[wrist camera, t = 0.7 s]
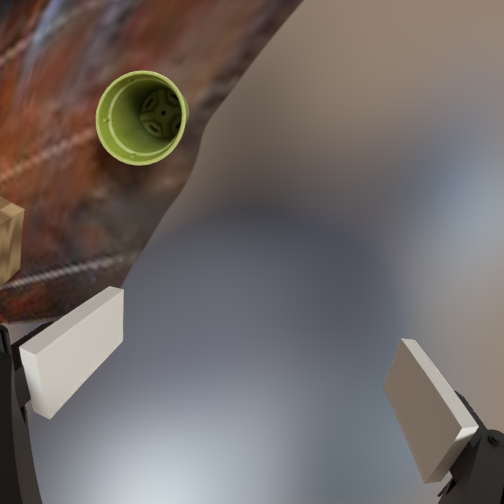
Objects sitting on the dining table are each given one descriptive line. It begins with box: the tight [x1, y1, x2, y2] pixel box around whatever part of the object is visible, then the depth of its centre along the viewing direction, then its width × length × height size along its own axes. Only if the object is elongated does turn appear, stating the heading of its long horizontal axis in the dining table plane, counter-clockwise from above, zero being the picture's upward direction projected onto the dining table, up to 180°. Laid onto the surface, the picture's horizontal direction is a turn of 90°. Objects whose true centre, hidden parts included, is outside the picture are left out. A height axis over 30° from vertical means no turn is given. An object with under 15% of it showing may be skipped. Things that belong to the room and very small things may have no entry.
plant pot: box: [96, 71, 189, 165], centre depth 31 cm, size 9×9×9 cm
